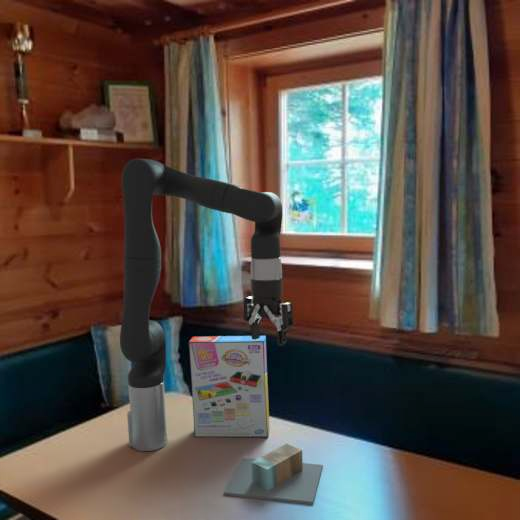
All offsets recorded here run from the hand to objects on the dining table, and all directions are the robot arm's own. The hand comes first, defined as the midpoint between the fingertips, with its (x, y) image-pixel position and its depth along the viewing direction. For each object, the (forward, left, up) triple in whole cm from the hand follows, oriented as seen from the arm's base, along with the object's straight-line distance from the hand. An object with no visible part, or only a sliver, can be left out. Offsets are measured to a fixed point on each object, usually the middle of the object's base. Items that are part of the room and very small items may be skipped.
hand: (268, 341), depth 135 cm
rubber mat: (+3, -10, -30) cm, 32 cm away
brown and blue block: (+6, -4, -27) cm, 28 cm away
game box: (-14, +12, -30) cm, 35 cm away
